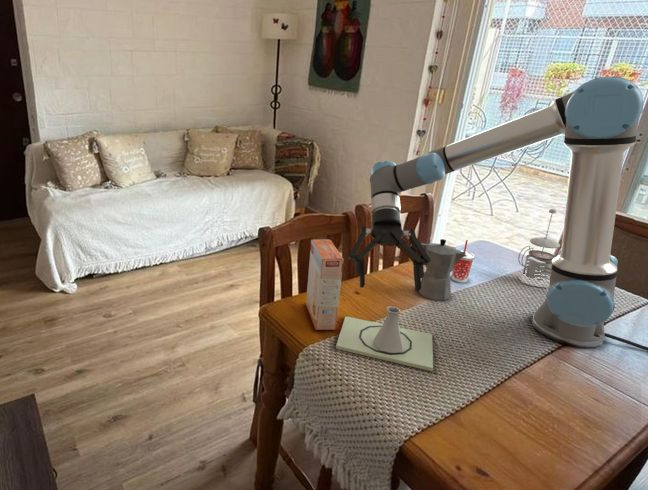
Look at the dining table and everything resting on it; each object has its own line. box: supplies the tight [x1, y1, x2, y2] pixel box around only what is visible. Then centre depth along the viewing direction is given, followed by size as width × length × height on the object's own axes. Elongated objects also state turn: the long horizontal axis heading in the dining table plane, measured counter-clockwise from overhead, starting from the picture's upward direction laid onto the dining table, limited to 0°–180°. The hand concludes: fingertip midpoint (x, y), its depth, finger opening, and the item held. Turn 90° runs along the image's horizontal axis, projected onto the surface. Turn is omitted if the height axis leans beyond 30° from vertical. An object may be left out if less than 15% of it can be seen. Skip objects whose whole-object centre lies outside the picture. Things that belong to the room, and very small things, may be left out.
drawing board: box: [335, 315, 434, 372], centre depth 111 cm, size 22×15×1 cm
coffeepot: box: [409, 238, 466, 301], centre depth 134 cm, size 15×9×18 cm, turn 59°
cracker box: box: [305, 238, 345, 331], centre depth 119 cm, size 14×6×21 cm, turn 0°
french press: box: [517, 208, 561, 280], centre depth 140 cm, size 10×12×25 cm
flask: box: [374, 305, 404, 353], centre depth 107 cm, size 7×7×10 cm
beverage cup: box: [451, 239, 475, 284], centre depth 143 cm, size 6×6×14 cm
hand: (390, 287), depth 111 cm, fingers open, 13 cm apart
